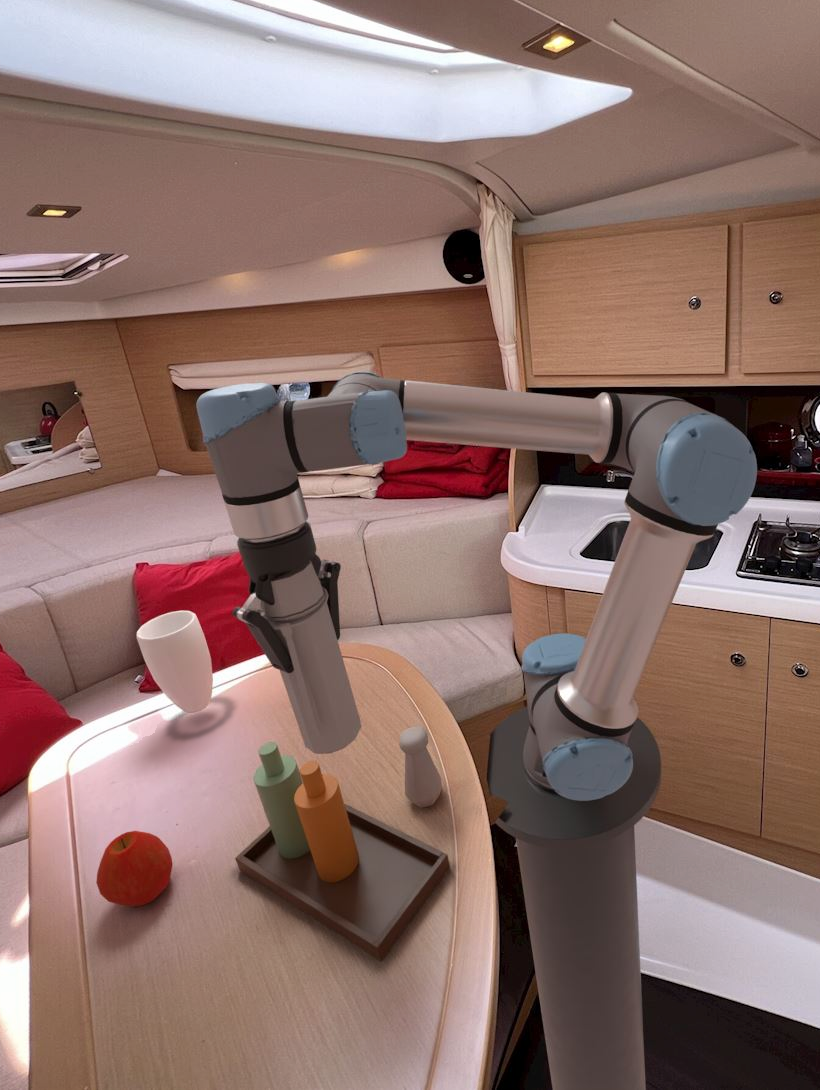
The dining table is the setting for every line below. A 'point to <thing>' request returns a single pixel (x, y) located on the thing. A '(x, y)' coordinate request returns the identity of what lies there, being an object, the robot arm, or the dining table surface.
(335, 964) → the dining table surface
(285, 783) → the sage bottle
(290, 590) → the water bottle
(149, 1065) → the dining table surface
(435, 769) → the salt shaker
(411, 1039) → the dining table surface
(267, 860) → the tray
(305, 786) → the amber bottle
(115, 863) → the apple
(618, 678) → the robot arm
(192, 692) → the cup
